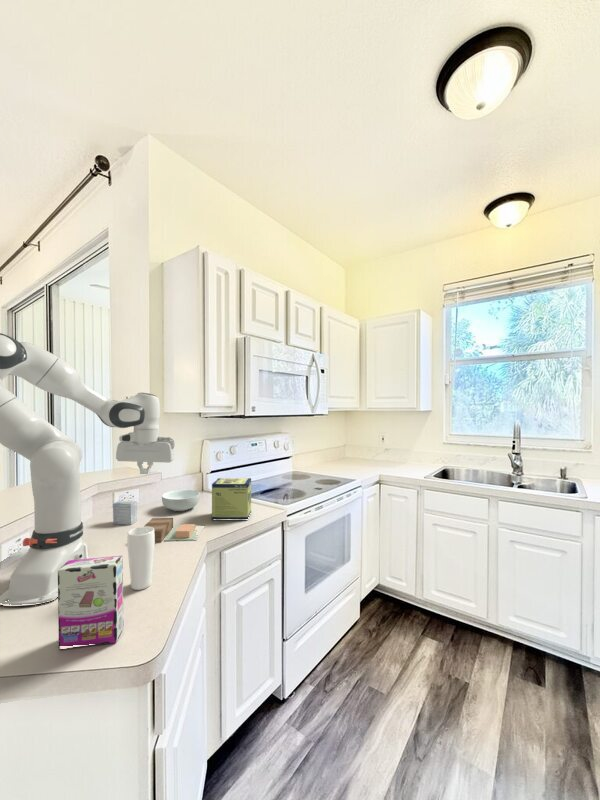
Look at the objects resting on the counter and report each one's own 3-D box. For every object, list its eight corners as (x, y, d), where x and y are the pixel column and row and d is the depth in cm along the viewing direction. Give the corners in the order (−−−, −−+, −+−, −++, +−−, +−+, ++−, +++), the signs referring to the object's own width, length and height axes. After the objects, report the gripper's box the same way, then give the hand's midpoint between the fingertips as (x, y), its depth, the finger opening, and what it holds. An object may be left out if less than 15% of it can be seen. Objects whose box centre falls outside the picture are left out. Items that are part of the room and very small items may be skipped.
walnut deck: (161, 542, 123) (161, 531, 123) (138, 543, 123) (137, 531, 123) (173, 527, 137) (173, 517, 137) (152, 528, 137) (152, 518, 137)
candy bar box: (124, 628, 77) (124, 554, 77) (116, 643, 72) (116, 564, 72) (68, 634, 75) (68, 558, 75) (57, 651, 70) (56, 570, 70)
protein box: (248, 520, 145) (248, 483, 145) (211, 520, 145) (211, 483, 145) (251, 512, 156) (251, 477, 156) (217, 512, 156) (217, 478, 156)
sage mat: (196, 540, 125) (196, 539, 125) (164, 541, 125) (164, 540, 125) (205, 526, 139) (205, 525, 139) (175, 526, 138) (175, 525, 138)
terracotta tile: (175, 531, 126) (175, 538, 126) (189, 531, 126) (189, 537, 126) (181, 524, 133) (181, 530, 133) (194, 524, 133) (194, 530, 133)
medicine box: (137, 521, 145) (137, 500, 145) (131, 525, 141) (131, 503, 141) (119, 520, 146) (119, 500, 146) (112, 524, 141) (112, 503, 141)
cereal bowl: (184, 516, 150) (184, 500, 150) (153, 512, 156) (153, 497, 156) (207, 505, 167) (207, 490, 167) (178, 502, 172) (178, 487, 172)
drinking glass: (147, 576, 100) (147, 524, 100) (159, 584, 95) (159, 529, 95) (123, 586, 94) (122, 531, 94) (134, 595, 90) (134, 537, 90)
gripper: (177, 436, 133) (175, 473, 133) (122, 435, 132) (121, 471, 132) (171, 438, 127) (170, 476, 127) (114, 436, 126) (112, 474, 126)
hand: (144, 473), depth 129 cm, fingers closed
